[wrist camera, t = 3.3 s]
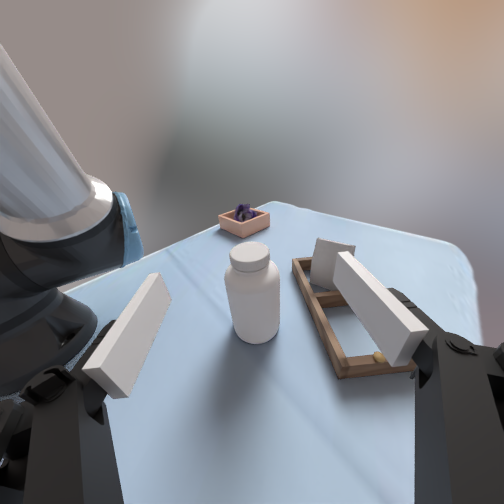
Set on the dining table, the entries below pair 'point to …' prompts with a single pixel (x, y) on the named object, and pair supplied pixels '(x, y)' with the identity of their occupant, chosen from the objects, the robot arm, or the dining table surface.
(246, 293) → the pill bottle
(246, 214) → the flower
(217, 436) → the dining table surface
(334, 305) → the slot rack
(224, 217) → the flower planter
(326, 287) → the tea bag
